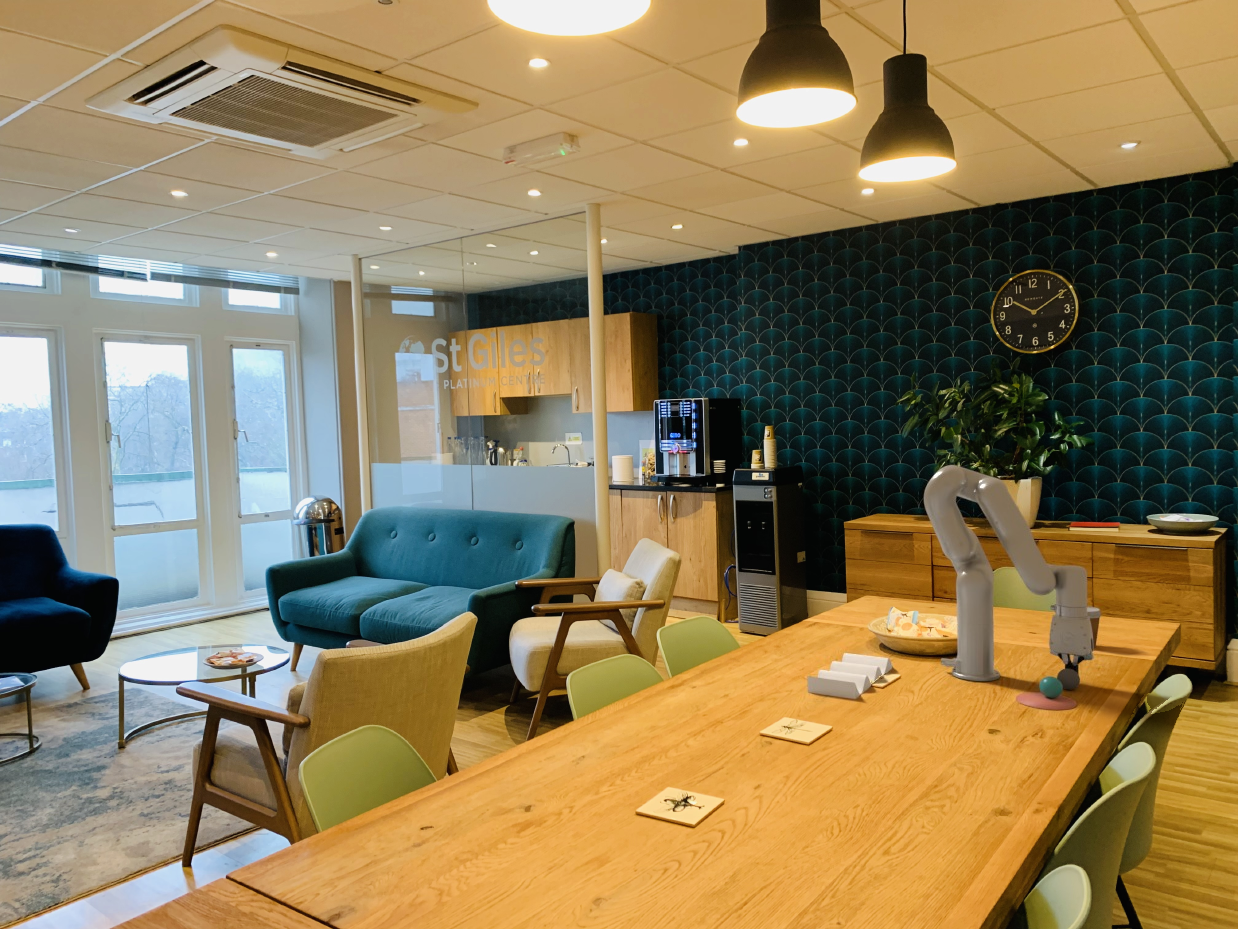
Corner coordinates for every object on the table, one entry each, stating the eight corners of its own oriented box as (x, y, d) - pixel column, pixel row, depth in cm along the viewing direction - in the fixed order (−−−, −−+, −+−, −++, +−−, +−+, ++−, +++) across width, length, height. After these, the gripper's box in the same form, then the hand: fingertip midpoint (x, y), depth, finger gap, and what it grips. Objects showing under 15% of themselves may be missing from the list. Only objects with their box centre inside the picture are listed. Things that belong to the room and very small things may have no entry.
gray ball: (1065, 667, 241) (1061, 687, 241) (1055, 665, 238) (1051, 685, 238) (1085, 672, 237) (1081, 693, 236) (1075, 670, 234) (1071, 691, 233)
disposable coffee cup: (1093, 642, 285) (1093, 605, 284) (1106, 650, 276) (1106, 611, 275) (1062, 642, 286) (1062, 605, 285) (1074, 650, 276) (1074, 612, 276)
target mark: (1015, 706, 224) (1015, 705, 224) (1015, 691, 237) (1015, 690, 237) (1078, 712, 218) (1078, 712, 218) (1074, 696, 231) (1074, 695, 231)
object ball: (1049, 693, 234) (1042, 703, 230) (1039, 674, 234) (1032, 684, 231) (1069, 690, 230) (1062, 700, 226) (1059, 671, 230) (1052, 681, 227)
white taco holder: (893, 669, 263) (893, 652, 263) (855, 702, 234) (855, 682, 233) (849, 664, 270) (849, 647, 270) (807, 694, 241) (807, 676, 241)
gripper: (1037, 610, 244) (1038, 676, 244) (1097, 617, 233) (1097, 686, 234) (1047, 606, 249) (1047, 670, 250) (1106, 612, 239) (1106, 680, 239)
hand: (1071, 678), depth 242 cm, fingers closed
